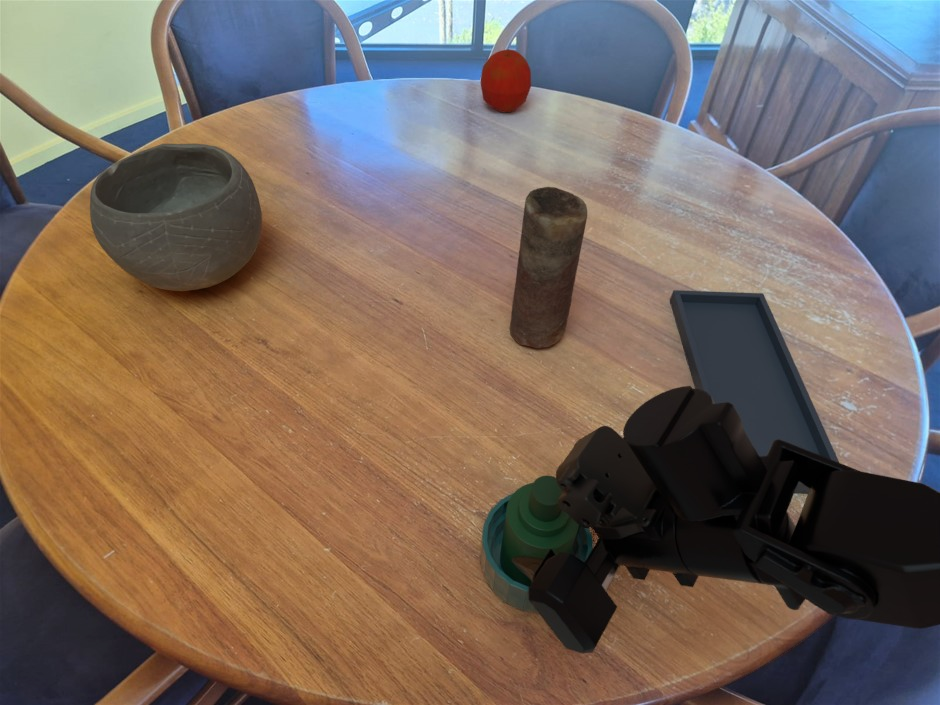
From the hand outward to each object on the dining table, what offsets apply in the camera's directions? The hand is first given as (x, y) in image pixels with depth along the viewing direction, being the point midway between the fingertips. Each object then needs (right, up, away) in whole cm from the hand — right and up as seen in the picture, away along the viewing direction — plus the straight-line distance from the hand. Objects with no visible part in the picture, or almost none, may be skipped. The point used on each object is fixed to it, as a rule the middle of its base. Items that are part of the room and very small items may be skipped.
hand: (543, 522), depth 55 cm
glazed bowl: (0, -6, +6) cm, 8 cm away
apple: (+1, +65, +73) cm, 98 cm away
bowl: (-46, +27, +35) cm, 64 cm away
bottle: (0, -5, +6) cm, 8 cm away
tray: (+28, +11, +23) cm, 37 cm away
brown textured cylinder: (+3, +18, +28) cm, 33 cm away
